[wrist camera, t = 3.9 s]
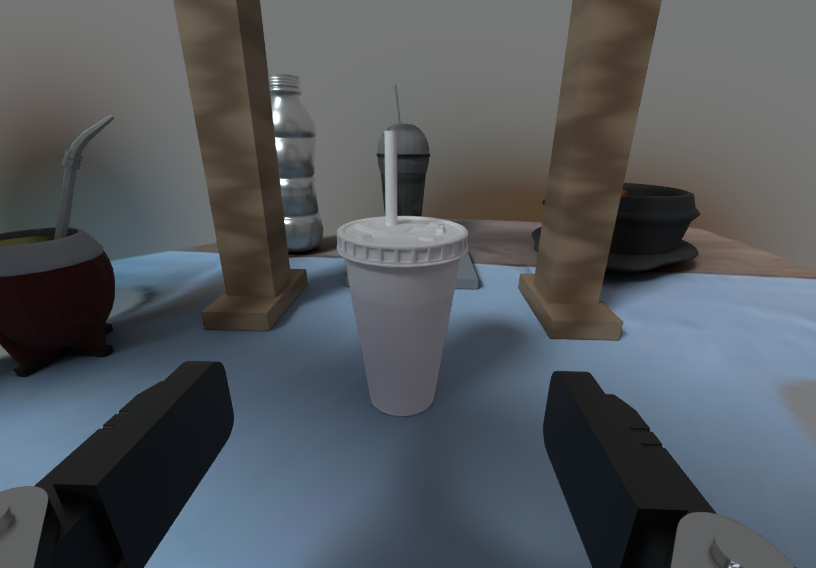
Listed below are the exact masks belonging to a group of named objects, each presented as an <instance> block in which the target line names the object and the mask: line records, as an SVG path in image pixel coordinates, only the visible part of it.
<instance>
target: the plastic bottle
mask: <svg viewBox="0 0 816 568" xmlns="http://www.w3.org/2000/svg"><path fill="white" fill-rule="evenodd" d="M268 78H269V87H270V96H271V105H272V113H273V122H274V131H275V140H276V149H277V158H278V167H279V176H280V185H281V194H282V203H283V212H284V221H285V230H286V239H287V248H288V252H301V251H307V250H311V249H314V248H317V247H318V246H319V245H320V243H321V241H322V238H323V226H322V220H321V216H320V213H319V212H318V211H319V209H318V203H317V196H316V190H315V178H314V173H315V170H314V157H315V141H316V140H315V136H316V128H315V125H314V122H313V120H312V118H311V116H310V115H309V113H308V112H307V110H306V109H305V108H304V107H303V105H302V104H301V102H300V100H299V96H300V95H301V90H300V83H299V78H298V77H297V76H293V75H286V74H268Z"/></svg>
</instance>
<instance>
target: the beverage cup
mask: <svg viewBox="0 0 816 568" xmlns="http://www.w3.org/2000/svg"><path fill="white" fill-rule="evenodd" d="M392 87H393V96H394V104H395V113H396V123H397V124H395V125H392V126H391V127H389V128H388V129H387V130H386V131H397V216H418V217H421V216H422V206H423V196H424V186H425V177H426V172H427V168H428V163H429V157H430V153H429V147H428V142H427V139H426V137H425V135H424V134H423V132H422V131H421V130H420V129H419V128H417V127H416V126H414V125H412V124H401V123H400V115H399V105H398V96H397V87H396V85H393V86H392ZM377 156H378V164H379V169H380V172H381V179H382V189H383V199H384V210H385V216H386V207H385V135H384V134H383V135H382V137H381V139H380V142H379V145H378V153H377Z"/></svg>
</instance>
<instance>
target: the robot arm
mask: <svg viewBox="0 0 816 568" xmlns="http://www.w3.org/2000/svg"><path fill="white" fill-rule="evenodd" d="M233 422H234V412H233V407H232V402H231V397H230V392H229V387H228V382H227V377H226V372H225V368H224V366H223V364H222V363H220V362H211V361H186V362H184V363H183V364H182V365H180V366H179V367H178V368H177V369H176V370H175V371H174V372H173V373H172V374H171V375H170V376H168V377H167V378H166V379H165V380H164V381H161V382H159V383H157V384H156V385H154V386H152V387H150V388H148V389H147V390H145V391H143V392H141V393H140V394H138V395H137V396H135V397H134V398H133V399H132V400H131V401H130V402H129V403H128V404H126V405H125V406H124V407H123V408H122V409H121V410H120V411H119V414H115V415H114V416H113V417H112V418H111V419H109V420H108V421H107V422H106V423H105V424H104V425H103V428H102V429H98V430H97V431H96V432H95V433H94V434H92V435H91V436H90V437H89V438H88V439H87V440H86V441H85V442H83V443H82V444H81V445H80V446H79V447H78V448H77V449H76V450H74V451H73V452H72V453H71V454H70V455H69V456H68V457H66V458H65V459H64V460H63V461H62V462H61V463H60V464H59V465H57V466H56V467H55V468H54V469H53V470H52V471H51V472H50V473H48V474H47V475H46V476H45V477H44V478H43V479H42V480H40V481H39V482H38V483H37V484H36V485H35V486H23V487H16V488H12V489H8V490H5V491H2V492H0V568H144V567H145V565H146V564H147V562H148V560H149V559H150V557H151V556H152V554H153V553H154V551H155V550H156V548H157V547H158V545H159V544H160V542H161V541H162V539H163V538H164V536H165V535H166V533H167V532H168V530H169V529H170V527H171V526H172V524H173V522H174V521H175V519H176V518H177V516H178V515H179V513H180V512H181V510H182V509H183V507H184V506H185V504H186V503H187V501H188V500H189V498H190V497H191V495H192V494H193V492H194V491H195V489H196V487H197V486H198V484H199V483H200V481H201V480H202V478H203V477H204V475H205V474H206V472H207V471H208V469H209V468H210V466H211V465H212V463H213V462H214V460H215V459H216V457H217V456H218V454H219V453H220V451H221V449H222V448H223V446H224V445H225V443H226V442H227V440H228V439H229V437H230V434H231V431H232V428H233ZM543 435H544V443H545V447H546V451H547V453H548V456H549V459H550V461H551V464H552V466H553V469H554V471H555V474H556V476H557V479H558V481H559V484H560V487H561V489H562V492H563V494H564V497H565V499H566V502H567V504H568V507H569V509H570V512H571V515H572V517H573V520H574V522H575V525H576V527H577V530H578V532H579V535H580V537H581V540H582V542H583V545H584V548H585V550H586V553H587V555H588V558H589V560H590V563H591V565H592V568H795V567H794V566H793V565H792V564H791V563H790V561H789V560H788V559H787V558H786V557H785V556H784V555H783V554H782V553H781V552H780V551H779V550H778V549H777V548H776V547H775V546H774V545H773V544H771V543H770V542H769V541H768V540H766V539H765V538H764V537H762V536H761V535H760V534H758V533H757V532H755V531H753V530H752V529H750V528H748V527H747V526H745V525H743V524H741V523H739V522H737V521H735V520H732V519H730V518H727V517H724V516H721V515H718V514H716V512H715V511H714V510H713V509H712V507H711V506H710V505H709V503H708V502H707V501H706V500H705V498H704V497H703V496H702V494H701V493H700V492H699V491H698V489H697V488H696V487H695V486H694V484H693V483H692V482H691V480H690V479H689V478H688V477H687V475H686V474H685V473H684V471H683V470H682V469H681V468H680V466H679V465H678V464H677V463H676V461H675V460H674V459H673V457H672V456H671V455H670V454H669V452H668V451H667V450H666V448H663V447H662V443H661V442H660V441H659V440H658V438H657V437H656V436H655V434H654V433H653V432H650V428H649V427H648V425H647V424H646V423H645V422H644V420H643V419H642V418H641V417H640V415H639V414H638V413H637V411H636V410H635V409H633V408H632V407H631V406H629V405H628V404H626V403H625V402H624V401H622V400H621V399H620V398H618V397H617V396H615V395H613V394H605V393H604V392H603V390H602V389H601V387H600V386H599V385H598V383H597V382H596V380H595V379H594V378H593V376H592V375H591V374H590V373H589V372H573V371H555V372H553V374H552V376H551V380H550V386H549V392H548V399H547V405H546V411H545V417H544V424H543Z"/></svg>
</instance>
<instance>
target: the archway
mask: <svg viewBox="0 0 816 568" xmlns="http://www.w3.org/2000/svg"><path fill="white" fill-rule="evenodd" d="M661 1H662V0H573V3H572V11H571V17H570V24H569V32H568V39H567V46H566V54H565V61H564V68H563V76H562V83H561V90H560V97H559V104H558V112H557V119H556V126H555V133H554V141H553V148H552V155H551V163H550V170H549V177H548V184H547V192H546V199H545V206H544V214H543V221H542V228H541V235H540V243H539V250H538V257H537V264H536V272H535V274H520V279H519V287H518V288H519V290H520V292H521V293H522V295H523V296H524V298H525V300H526V301H527V303H528V304H529V306H530V308H531V309H532V311H533V312H534V314H535V316H536V317H537V319H538V320H539V322H540V324H541V325H542V327H543V328H544V330H545V331H546V333H547V335H548V336H549V338H553V339H591V340H619V338H620V334H621V329H622V325H623V321H622V320H621V319H620V318H619V317H617V316H616V315H615V314H614V313H613V312H612V311H611V310H610V309H609V308H608V307H607V306H606V305H604V304H603V303H602V302H601V301H600V300H599V298H600V294H601V289H602V284H603V279H604V274H605V270H606V265H607V260H608V255H609V250H610V246H611V241H612V236H613V231H614V226H615V222H616V217H617V212H618V207H619V203H620V198H621V193H622V188H623V183H624V178H625V174H626V169H627V163H628V159H629V154H630V149H631V144H632V140H633V135H634V130H635V126H636V121H637V116H638V111H639V106H640V102H641V97H642V92H643V87H644V82H645V78H646V73H647V68H648V63H649V58H650V54H651V49H652V43H653V39H654V34H655V30H656V25H657V20H658V15H659V11H660V6H661ZM174 6H175V11H176V17H177V22H178V27H179V33H180V39H181V45H182V50H183V55H184V61H185V66H186V72H187V78H188V83H189V89H190V94H191V99H192V105H193V111H194V116H195V121H196V128H197V133H198V139H199V143H200V150H201V155H202V160H203V166H204V172H205V177H206V183H207V188H208V193H209V199H210V205H211V211H212V216H213V222H214V227H215V233H216V238H217V244H218V249H219V255H220V260H221V266H222V271H223V277H224V282H225V288H226V292H225V293H224V294H223V295H221V296H220V297H219V298H217V299H216V300H215V301H214V302H212V303H211V304H210V305H208V306H207V307H206V308H205V309H203V310H202V311H201V315H202V320H203V325H204V329H214V330H252V331H270V329H271V328H272V327H273V326H274V324H275V323H276V322H277V321H278V319H279V318H280V317H281V316H282V314H283V313H284V312H285V311H286V310H287V308H288V307H289V306H290V305H291V303H292V302H293V301H294V300H295V298H296V297H297V296H298V295H299V293H300V292H301V291H302V290H303V288H304V287H305V286H306V285H307V273H306V269H290V265H289V256H288V248H287V239H286V230H285V221H284V212H283V203H282V194H281V185H280V176H279V167H278V158H277V149H276V140H275V131H274V122H273V113H272V105H271V96H270V87H269V78H268V69H267V60H266V51H265V42H264V34H263V24H262V15H261V7H260V0H174Z"/></svg>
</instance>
